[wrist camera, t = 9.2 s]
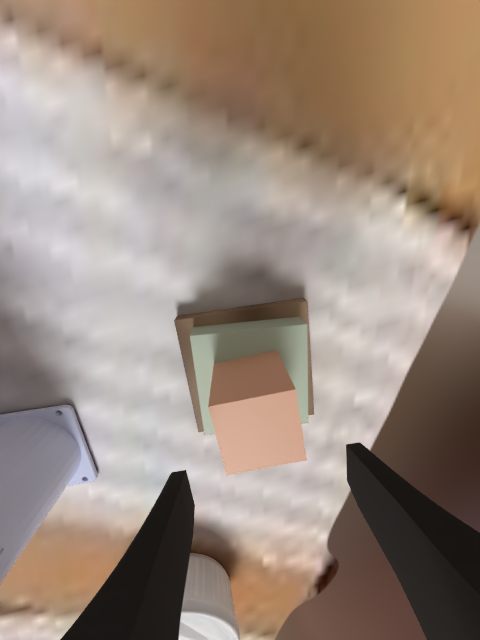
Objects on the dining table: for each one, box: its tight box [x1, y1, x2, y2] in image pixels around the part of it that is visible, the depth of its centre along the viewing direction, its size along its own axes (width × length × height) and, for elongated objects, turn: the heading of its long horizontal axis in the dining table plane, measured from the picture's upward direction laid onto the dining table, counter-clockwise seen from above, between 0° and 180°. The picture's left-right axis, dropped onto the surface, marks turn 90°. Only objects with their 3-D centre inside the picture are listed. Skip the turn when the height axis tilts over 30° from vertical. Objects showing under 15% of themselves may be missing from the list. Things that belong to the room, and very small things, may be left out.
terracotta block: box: [208, 350, 307, 475], centre depth 15 cm, size 4×4×5 cm
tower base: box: [174, 298, 314, 432], centre depth 21 cm, size 10×10×2 cm
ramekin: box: [179, 553, 240, 640], centre depth 25 cm, size 11×11×5 cm
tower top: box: [190, 317, 308, 435], centre depth 19 cm, size 8×8×2 cm
